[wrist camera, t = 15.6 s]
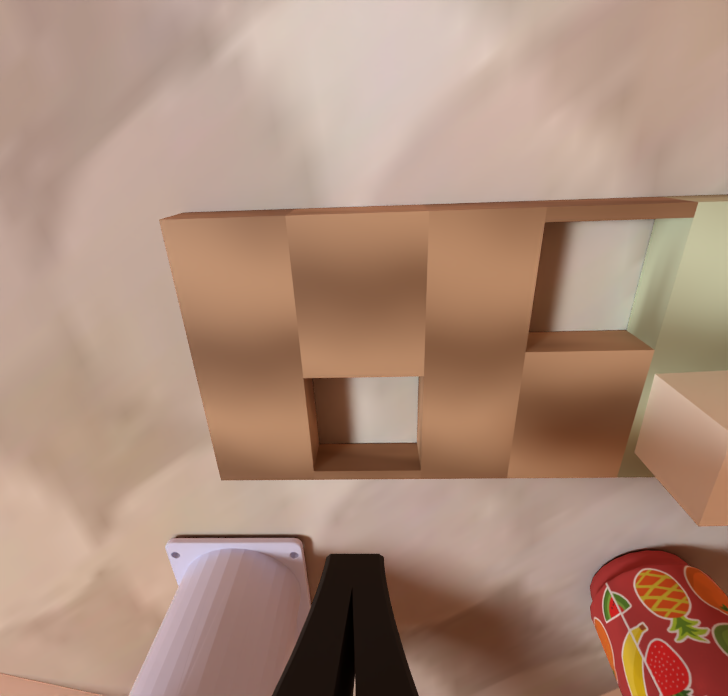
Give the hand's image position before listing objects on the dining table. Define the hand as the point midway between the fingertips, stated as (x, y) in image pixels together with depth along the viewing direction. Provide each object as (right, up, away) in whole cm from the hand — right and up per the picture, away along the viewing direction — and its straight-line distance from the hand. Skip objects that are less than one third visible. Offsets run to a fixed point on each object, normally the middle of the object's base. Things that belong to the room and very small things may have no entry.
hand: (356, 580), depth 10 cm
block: (+14, +3, +7) cm, 16 cm away
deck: (+5, +6, +8) cm, 11 cm away
